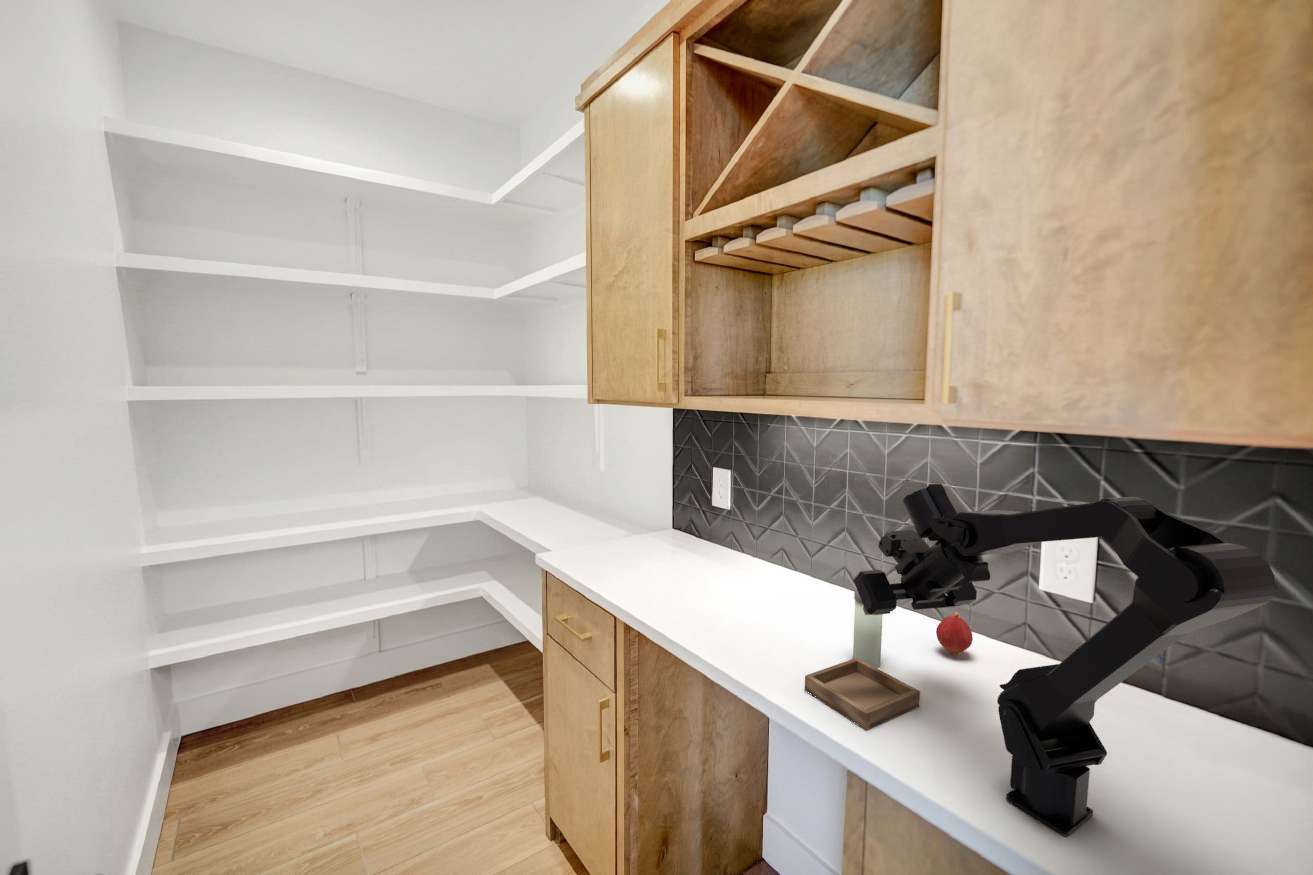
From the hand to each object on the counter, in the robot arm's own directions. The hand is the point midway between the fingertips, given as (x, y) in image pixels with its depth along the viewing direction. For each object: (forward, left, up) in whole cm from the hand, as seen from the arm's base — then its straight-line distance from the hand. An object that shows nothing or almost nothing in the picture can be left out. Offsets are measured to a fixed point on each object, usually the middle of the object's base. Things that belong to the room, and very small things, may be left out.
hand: (889, 609), depth 93 cm
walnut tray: (-2, +9, -12) cm, 15 cm away
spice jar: (+5, -2, -12) cm, 13 cm away
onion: (-1, -18, -12) cm, 21 cm away
